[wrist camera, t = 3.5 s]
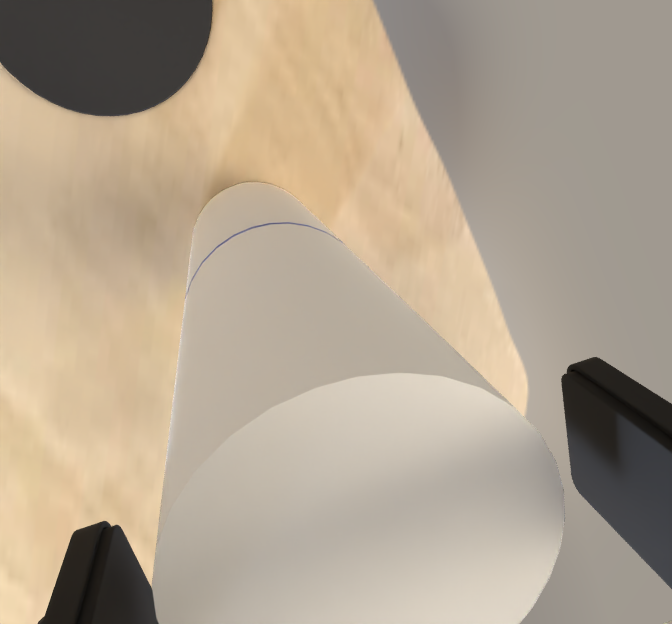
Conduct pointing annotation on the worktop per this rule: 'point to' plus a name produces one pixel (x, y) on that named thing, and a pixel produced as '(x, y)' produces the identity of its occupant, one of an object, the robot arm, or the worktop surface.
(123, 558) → the robot arm
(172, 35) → the coaster
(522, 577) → the cylindrical container
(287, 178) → the worktop surface
